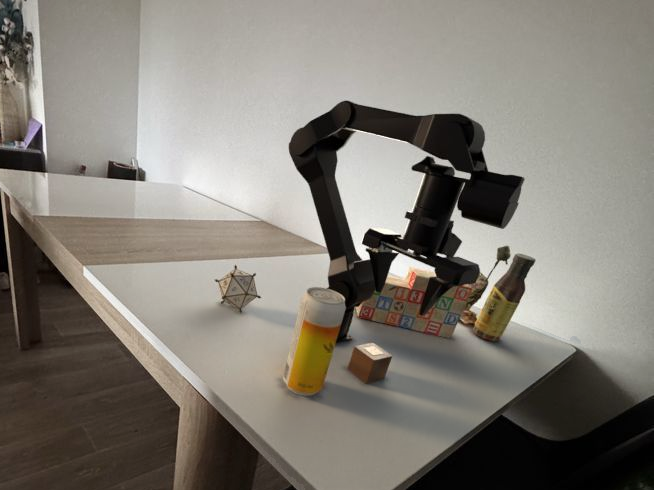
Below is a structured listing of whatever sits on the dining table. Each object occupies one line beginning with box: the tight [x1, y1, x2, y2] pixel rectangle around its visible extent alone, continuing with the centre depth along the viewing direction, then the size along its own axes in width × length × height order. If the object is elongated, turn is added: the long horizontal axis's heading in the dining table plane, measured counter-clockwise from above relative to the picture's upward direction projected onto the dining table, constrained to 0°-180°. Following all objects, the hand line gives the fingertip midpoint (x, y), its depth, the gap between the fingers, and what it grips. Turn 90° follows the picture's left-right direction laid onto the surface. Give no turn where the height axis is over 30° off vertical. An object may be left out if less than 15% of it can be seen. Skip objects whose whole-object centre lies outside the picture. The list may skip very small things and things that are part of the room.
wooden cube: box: [347, 342, 393, 385], centre depth 65 cm, size 4×4×5 cm
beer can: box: [282, 286, 346, 397], centre depth 56 cm, size 6×6×15 cm
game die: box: [214, 264, 262, 314], centre depth 78 cm, size 9×8×10 cm
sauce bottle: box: [472, 252, 536, 342], centre depth 88 cm, size 6×6×20 cm
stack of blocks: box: [355, 266, 473, 339], centre depth 87 cm, size 21×6×12 cm, turn 85°
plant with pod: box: [459, 245, 512, 325], centre depth 96 cm, size 8×11×20 cm
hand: (399, 303), depth 66 cm, fingers open, 9 cm apart
